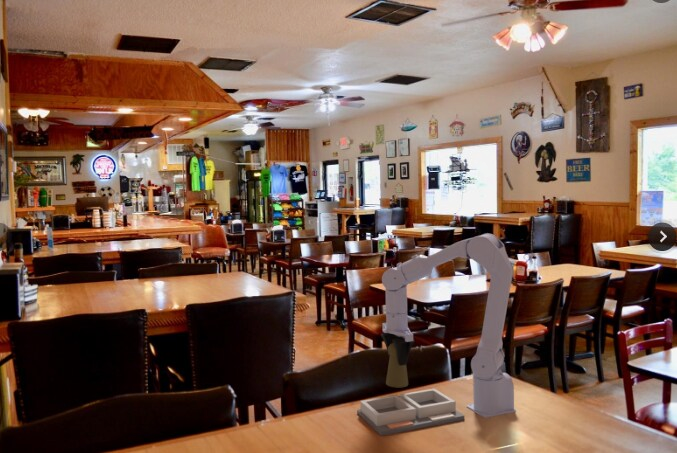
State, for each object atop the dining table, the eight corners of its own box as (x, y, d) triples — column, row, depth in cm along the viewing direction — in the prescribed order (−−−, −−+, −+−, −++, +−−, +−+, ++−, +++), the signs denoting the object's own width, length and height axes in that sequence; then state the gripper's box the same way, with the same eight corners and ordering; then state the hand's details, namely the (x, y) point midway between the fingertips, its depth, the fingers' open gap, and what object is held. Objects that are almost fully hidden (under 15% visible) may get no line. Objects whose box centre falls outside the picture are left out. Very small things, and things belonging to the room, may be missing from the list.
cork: (408, 388, 146) (408, 347, 145) (385, 386, 147) (385, 346, 146) (408, 380, 152) (409, 341, 151) (386, 379, 153) (387, 340, 152)
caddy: (434, 400, 145) (434, 387, 145) (464, 419, 132) (464, 405, 132) (357, 413, 138) (356, 400, 137) (381, 436, 124) (380, 420, 124)
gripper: (372, 308, 154) (373, 356, 154) (395, 318, 140) (396, 371, 141) (394, 306, 156) (396, 353, 157) (419, 316, 142) (421, 367, 143)
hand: (397, 362), depth 149 cm, fingers closed on cork, 5 cm apart
